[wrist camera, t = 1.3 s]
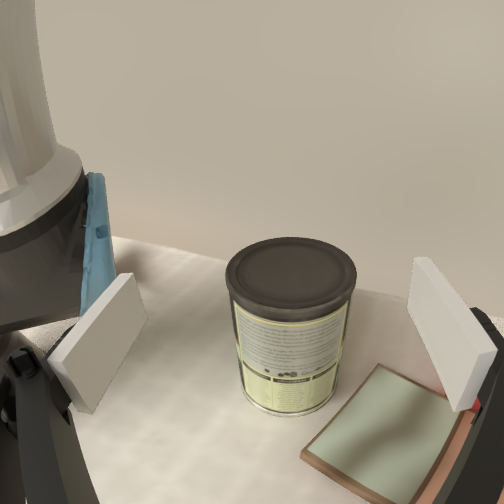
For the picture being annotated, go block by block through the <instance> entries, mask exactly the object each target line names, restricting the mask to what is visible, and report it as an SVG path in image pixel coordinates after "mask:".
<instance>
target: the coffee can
mask: <svg viewBox="0 0 504 504" xmlns="http://www.w3.org/2000/svg"><path fill="white" fill-rule="evenodd" d="M225 277H226V284H227V288H228V290H229V296H230V304H231V311H232V319H233V326H234V332H235V339H236V346H237V353H238V361H239V368H240V375H241V386H242V389H243V392H244V394H245V396H246V397H247V399H248V400H249V401H250V402H251V403H252V404H253V405H254V406H255V407H257V408H258V409H260V410H262V411H263V412H266V413H268V414H271V415H274V416H279V417H297V416H302V415H306V414H309V413H311V412H313V411H315V410H318V409H319V408H320V407H321V406H323V405H324V404H325V403H326V402H327V401H328V400H329V399H330V398H331V396H332V395H333V393H334V391H335V389H336V385H337V376H338V371H339V367H340V362H341V357H342V352H343V347H344V342H345V336H346V330H347V324H348V318H349V312H350V306H351V300H352V293H353V290H354V288H355V284H356V278H357V272H356V268H355V265H354V263H353V261H352V260H351V259H350V257H349V256H348V255H347V254H346V253H345V252H343V251H342V250H340V249H338V248H337V247H335V246H333V245H331V244H328V243H326V242H323V241H319V240H315V239H309V238H299V237H282V238H274V239H268V240H264V241H261V242H257V243H255V244H252V245H250V246H248V247H246V248H244V249H242V250H241V251H239V252H238V253H237V254H236V255H235V256H234V257H233V258H232V259H231V260H230V262H229V263H228V265H227V268H226V273H225Z"/></svg>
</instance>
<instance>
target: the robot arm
mask: <svg viewBox="0 0 504 504" xmlns="http://www.w3.org/2000/svg"><path fill="white" fill-rule="evenodd" d="M407 310H408V312H409V314H410V316H411V318H412V320H413V322H414V324H415V326H416V328H417V330H418V332H419V334H420V336H421V338H422V341H423V343H424V345H425V347H426V349H427V351H428V353H429V356H430V358H431V360H432V362H433V365H434V367H435V369H436V371H437V374H438V376H439V378H440V381H441V383H442V385H443V388H444V390H445V393H446V395H447V397H448V400H449V402H450V405H451V407H452V410H453V412H458V411H462V410H466V409H470V408H472V406H473V404H474V402H475V400H476V398H478V400H479V402H480V404H481V405H480V407H479V409H478V411H477V413H476V415H475V416H474V418H473V420H472V422H471V423H470V424H472V426H471V428H470V431H469V433H468V435H467V437H466V440H465V442H464V444H463V446H462V448H461V450H460V453H459V455H458V457H457V459H456V461H455V463H454V465H453V467H452V469H451V470H450V472H449V474H448V476H447V478H446V480H445V482H444V483H443V485H442V487H441V489H440V491H439V492H438V494H437V496H436V497H435V499H434V501H433V502H432V504H497V502H498V500H499V498H500V495H501V493H502V490H503V488H504V338H503V337H502V335H501V334H500V333H499V331H498V330H496V327H495V326H494V324H493V323H492V322H491V320H490V319H489V318H488V316H487V315H486V314H485V313H484V312H482V311H481V310H479V309H478V308H477V307H474V308H468V306H467V305H466V304H465V302H464V301H463V300H462V298H461V297H460V296H459V294H458V293H457V292H456V290H455V289H454V288H453V287H452V285H451V284H450V283H449V281H448V280H447V279H446V278H445V276H444V275H443V274H442V273H441V271H440V270H439V269H438V268H437V266H436V265H435V264H434V263H433V261H432V260H431V259H430V258H429V257H415V258H413V268H412V277H411V284H410V291H409V298H408V305H407ZM81 316H82V318H81V319H80V320H79V321H78V322H77V323H76V324H74V325H73V326H71V327H70V328H69V329H67V330H66V331H65V332H64V334H63V335H62V336H61V337H60V339H58V341H57V342H56V345H54V346H53V347H52V348H51V349H50V350H49V352H48V353H47V354H46V355H45V354H44V353H43V352H42V351H41V350H40V349H39V348H38V347H37V346H36V345H34V344H33V343H32V342H31V341H30V340H29V339H27V338H26V337H25V336H24V335H23V334H22V333H20V332H19V331H18V330H22V329H27V328H31V327H35V326H40V325H44V324H48V323H53V322H57V321H61V320H65V319H70V318H74V317H81ZM147 320H148V319H147V316H146V312H145V309H144V306H143V303H142V300H141V296H140V293H139V290H138V286H137V283H136V279H135V276H134V273H120V275H119V276H118V277H117V273H116V267H115V260H114V253H113V246H112V238H111V231H110V223H109V214H108V205H107V196H106V187H105V178H104V176H103V174H101V173H93V172H92V173H91V172H89V173H88V174H87V175H85V174H84V171H83V167H82V162H81V160H80V157H79V155H78V154H77V153H76V152H75V151H73V150H71V149H69V148H66V147H64V146H62V145H59V144H58V143H57V142H56V138H55V134H54V130H53V125H52V121H51V117H50V112H49V107H48V102H47V97H46V92H45V86H44V81H43V74H42V69H41V62H40V54H39V46H38V38H37V29H36V17H35V1H34V0H0V504H26V500H27V504H100V503H99V501H98V498H97V495H96V493H95V490H94V487H93V485H92V482H91V479H90V476H89V473H88V470H87V467H86V464H85V461H84V458H83V454H82V451H81V448H80V444H79V441H78V437H77V433H76V430H75V426H74V422H73V418H72V414H71V412H70V410H69V408H68V406H69V404H70V403H71V401H72V403H73V404H74V406H75V407H76V409H77V411H80V412H84V413H88V414H93V413H94V411H95V409H96V407H97V406H98V404H99V402H100V400H101V398H102V397H103V395H104V393H105V391H106V389H107V388H108V386H109V384H110V382H111V381H112V379H113V377H114V375H115V374H116V372H117V370H118V369H119V367H120V365H121V363H122V362H123V360H124V358H125V357H126V355H127V353H128V351H129V350H130V348H131V346H132V345H133V343H134V341H135V340H136V338H137V336H138V335H139V333H140V331H141V330H142V328H143V326H144V325H145V323H146V321H147Z"/></svg>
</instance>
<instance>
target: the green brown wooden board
mask: <svg viewBox="0 0 504 504" xmlns="http://www.w3.org/2000/svg"><path fill="white" fill-rule="evenodd" d="M476 413H477V412H476V411H474V410H472V409H466V410H462V411H458V412H453V410H452V407H451V405H450V402H449V400H448V398H447V397H445V396H443V395H441V394H439V393H437V392H435V391H433V390H431V389H429V388H427V387H425V386H423V385H421V384H419V383H417V382H415V381H413V380H411V379H409V378H407V377H405V376H403V375H401V374H399V373H397V372H395V371H393V370H391V369H389V368H387V367H385V366H383V365H381V364H379V363H378V364H377V366H376V367H375V368H374V370H373V371H372V372H371V373H370V375H369V376H368V377H367V378H366V380H365V381H364V382H363V383H362V385H361V386H360V387H359V388H358V389H357V391H356V392H355V393H354V394H353V395H352V397H351V398H350V399H349V400H348V401H347V402H346V404H345V405H344V406H343V407H342V408H341V409H340V410H339V411H338V413H337V414H336V415H335V416H334V417H333V418H332V419H331V420H330V421H329V423H328V424H327V425H326V426H325V427H324V428H323V429H322V430H321V431H320V432H319V433H318V434H317V435H316V436H315V437H314V438H313V439H312V441H311V442H310V443H309V444H308V445H307V446H306V447H305V448H304V449H303V450H302V451H301V453H300V458H301V459H302V460H304V461H305V462H307V463H308V464H310V465H311V466H313V467H314V468H316V469H317V470H319V471H320V472H322V473H323V474H325V475H326V476H328V477H329V478H331V479H332V480H334V481H335V482H337V483H339V484H340V485H342V486H343V487H345V488H347V489H348V490H350V491H351V492H353V493H355V494H356V495H358V496H360V497H361V498H363V499H365V500H367V501H368V502H370V503H372V504H432V502H433V501H434V499H435V497H436V496H437V494H438V492H439V491H440V489H441V487H442V485H443V483H444V482H445V480H446V478H447V476H448V474H449V472H450V470H451V469H452V467H453V465H454V463H455V461H456V459H457V457H458V455H459V453H460V450H461V448H462V446H463V444H464V442H465V440H466V437H467V435H468V433H469V431H470V428H471V426H472V424H470V423H471V422H472V420H473V418H474V416H475V415H476ZM497 504H504V488H503V490H502V493H501V495H500V498H499V500H498V502H497Z"/></svg>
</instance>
